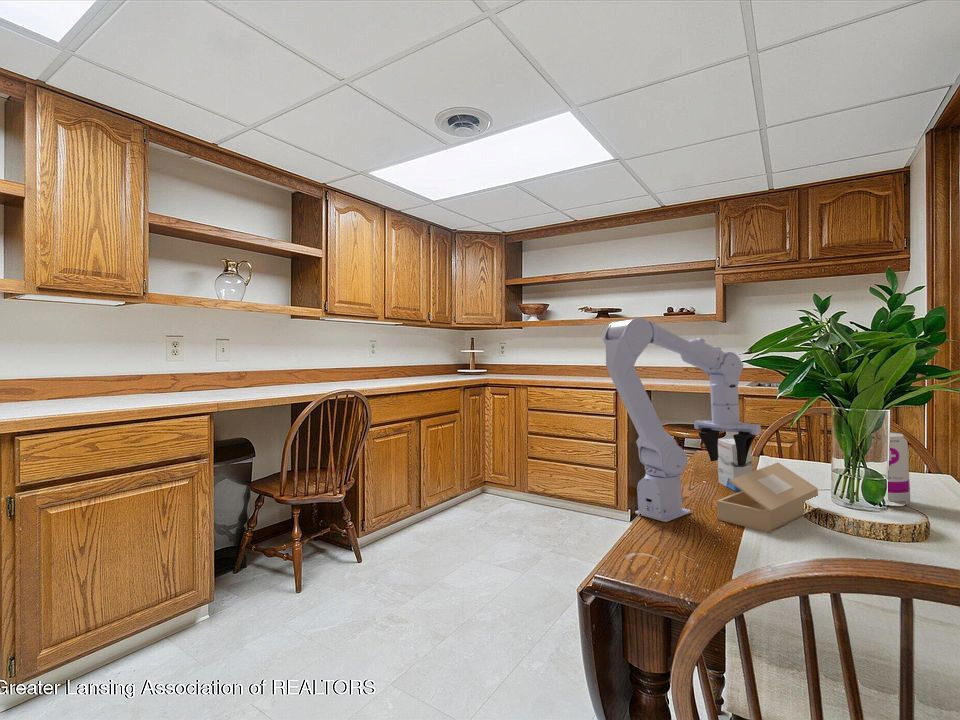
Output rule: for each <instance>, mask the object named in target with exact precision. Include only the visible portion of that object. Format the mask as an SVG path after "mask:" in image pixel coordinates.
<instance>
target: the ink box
mask: <svg viewBox="0 0 960 720" xmlns="http://www.w3.org/2000/svg"><path fill="white" fill-rule="evenodd" d="M752 460H753V459H752V445H751V446H750V449H749V451H748V455H747V459H746V464H745V465H742V466H739V465H738V462H737V449H736V444H735V440H734V438H718V460H717V471H718V474H717V475H718V483H719V484H720V485H722V486H724V487H726V488H728V489H730V490H732V491H734V492H740V491H741V490H740V489H739V488H737V487H736V486H735V485H733V484H732V483H731V482H729V480H730V479H733V478H736V477H739V476H742V475H744V474H747V473H750V472H753V465H752V464H753V463H752V462H753V461H752Z"/></svg>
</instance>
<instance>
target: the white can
mask: <svg viewBox="0 0 960 720" xmlns="http://www.w3.org/2000/svg"><path fill="white" fill-rule="evenodd" d="M889 432H890V456H889V481H888V500H889V501H890V502H895V503H899V504H907V505H908V504H910V503H911V487H910V484H911V483H910V465H909V447H908V445H909V444H908V440H907V439H906V438H905V436H904V434H902V433H897V432H891V431H889Z"/></svg>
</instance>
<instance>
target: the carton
mask: <svg viewBox="0 0 960 720" xmlns="http://www.w3.org/2000/svg"><path fill="white" fill-rule="evenodd" d="M816 496H818V497H819V490H818V489H817V490H815V491H813V492H811V493H809V494H807V495H805V496H803V497H801V498H798V499H796V500H794V501H792V502H790V503H788V504H786V505H784V506H781V507H779V508H777V509H775V510H773V511H771V512H770V511H768V510H767V509H766V508H764V507H763V506H762V505H760V504H759V503H758V502H756V501H755V500H754V499H752V498H751V497H750V496H748V495H747V494H745V493H744V492H743V491H736V492H735V493H733V494H730V495H728V496H726V497H722V498H720V499H717V500H716V511H717V512H716V513H717V515H716V516H717V521H721V522H722V521H723V522H726V523H731V524H733V525H737V526H742V527H745V528H749V529H752V530H753V529H754V530H756V531H757V530H758V531H761V532H765V533H769V534H771V533H773V532H775V531H777V530H778V529H781V528H782V527H784V526H786V525H788V524H790V523H792V522H794V521H796V520H798V519H800V518H803V511H804V503H805V501H806V500H809V499H811V498H813V497H816Z"/></svg>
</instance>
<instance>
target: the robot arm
mask: <svg viewBox="0 0 960 720" xmlns="http://www.w3.org/2000/svg"><path fill="white" fill-rule="evenodd" d="M602 341H603V342H604V345H605V366H606V370H607V372H608V373H609V377H610V379H611V380H612V383H613V384H614V386H615V389H616V391H617V394H619V397H620V399H621V401H622V403H623V405H624V407H625V409H626V411H627V413H628V416H629V419H630V420H631V422H632V424H633V426H634V428H635V430H636V433H637V434H638V438H637V440H636V441H635V444H636V446H637V448H638V449H637V450H638V458H639V461H640V463H641V464H642V465H644V471H645V475H644V476H643V478H641V479H640V480H639V481H638V483H637V486H636V494H637V510H635V511H634V513H635V514H636V515H639V516H643V517H646V518H649V519H652V520H657V521H659V522H660V521H661V522H662V523H663V522H664V523H668V522H670V521H672V520H676V519H678V518H680V517H683V516H685V515H689V514H691V512H692V510H691V509H689V508H685V507H684V508H683V499H682V497H683V496H682V477H681V476H683V472H684V471H685V469H686V467H687V464H688V456H687V453H686V451H685V450H684V449H683V448H682V447H681V446H679V445H678V443H677V441H676V440H675V438H674V437H673V436H672V435H671V434H669V433H668V432H667V431H666V430H665V429H664V427H663V425H662V423H661V421H660V418H659V416H658V414H657V412H656V410H655V408H654V406H653V404H652V401H651V399H650V397H649V395H648V393H647V390H646V389H645V387H644V385H643V383H642V380H641V378H640V376H639V374H638V372H637V370H636V368H635V365H636V362H637V360H638V358H639V357H640V355H641V354H642V353H643V352H644V350H645V349H646V348H647V347H648V345H649V344H653V345H655V346H658V347H660V348H663V349H666V350H669V351H672V352H674V353H677V354H679V355H680V359H681V360H682V361H683V362H684V363H687V364H689V365H692V366H693V367H696V368H698V369H701V370H702V371H704V373H705V375H707V376H709V389H710V409H711V411H710V412H711V420H702V419H697V420H694V421H693V422H694V423H693V424H694V425H693V427H694V429H695V430H700V431H698V436H699V438H700V439H701V440H702V442H703V444H704V446H705V448H706V450H707V453H708V454H707V455H708V456H709V460H710V462H716V461H717V462H718V439H719V435H720V431H721V432H729V433H734V434H733V435H732V437H733V439H734V440H735V444H736V449H737V462H738V465H739V466H742V465H745V464H746V459H747V455H748V451H749V449H750V446H751V447H752V444H753V443H754V442H753V441H754V440H755V439H756V436H757V435H758V436H759V435H761V434H762V429H761V424H753V423H752V424H751V423H747V422H746V423H745V422H740V402H739V385H738V384H739V383H740V381H741V380H740V376H741V374H742V372H743V369H744V363H742V360H741V358H740V357H739V355H737V354H736V353H735V352H733V351H723V349H722V348H721V347H720V346H713V345H711V344H709V343H706V342H705V341H706V339H704V338H702V337H697V338H691V339H688V340H687V339H684V337H680V336H679V335H677V334H675V333H673V332H672V331H670V330H668V329H666V328H664V327H662V326H659V325H658V324H657V323H656V322H654V321H652V320H647V319H645V318H644V317H635V318H632V319H626V320H615V321H613V322H611V323H610V324H609V325H608V326H607V328H606V330H605V332H604V335H603V338H602ZM735 433H736V434H735ZM646 507H647V508H646ZM645 508H646V509H645ZM644 510H645V511H644ZM643 511H644V512H643ZM642 512H643V513H642ZM641 513H642V514H641ZM640 514H641V515H640Z"/></svg>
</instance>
